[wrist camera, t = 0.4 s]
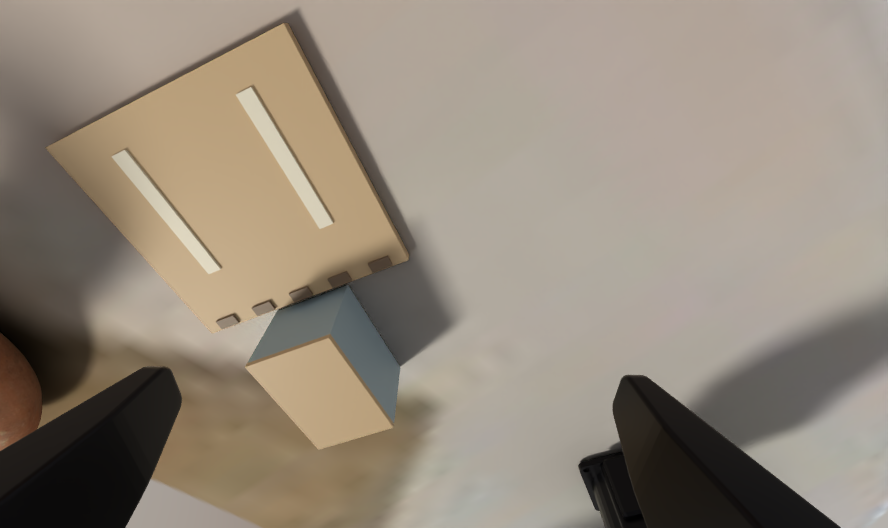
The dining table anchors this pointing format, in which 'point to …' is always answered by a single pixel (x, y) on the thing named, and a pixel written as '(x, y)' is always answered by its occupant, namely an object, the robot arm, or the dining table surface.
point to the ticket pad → (237, 184)
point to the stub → (328, 369)
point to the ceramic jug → (17, 395)
